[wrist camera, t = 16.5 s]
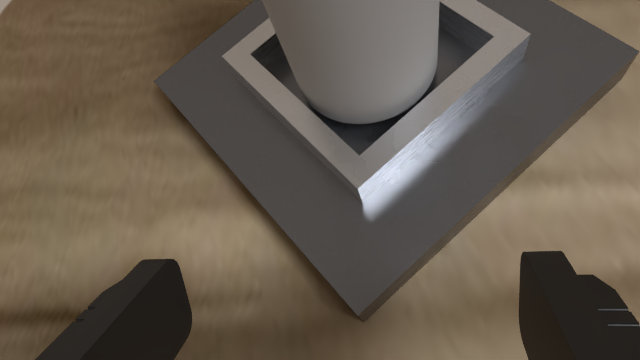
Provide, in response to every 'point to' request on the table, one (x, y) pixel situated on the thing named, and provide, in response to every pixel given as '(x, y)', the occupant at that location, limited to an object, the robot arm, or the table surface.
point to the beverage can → (359, 53)
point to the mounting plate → (395, 133)
